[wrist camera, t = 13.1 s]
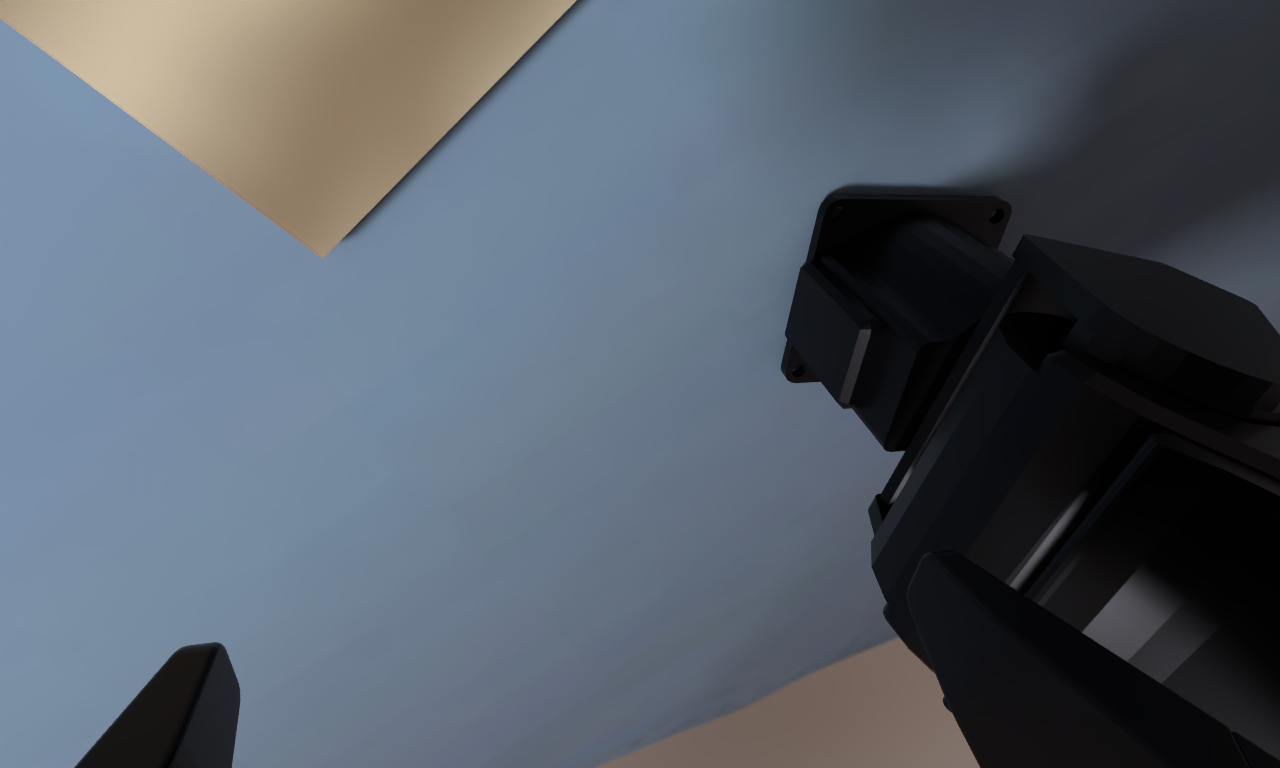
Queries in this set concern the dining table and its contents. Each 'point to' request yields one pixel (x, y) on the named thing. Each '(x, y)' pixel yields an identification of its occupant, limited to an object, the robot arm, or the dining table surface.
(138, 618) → the dining table surface
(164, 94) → the plate
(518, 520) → the dining table surface
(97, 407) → the dining table surface
